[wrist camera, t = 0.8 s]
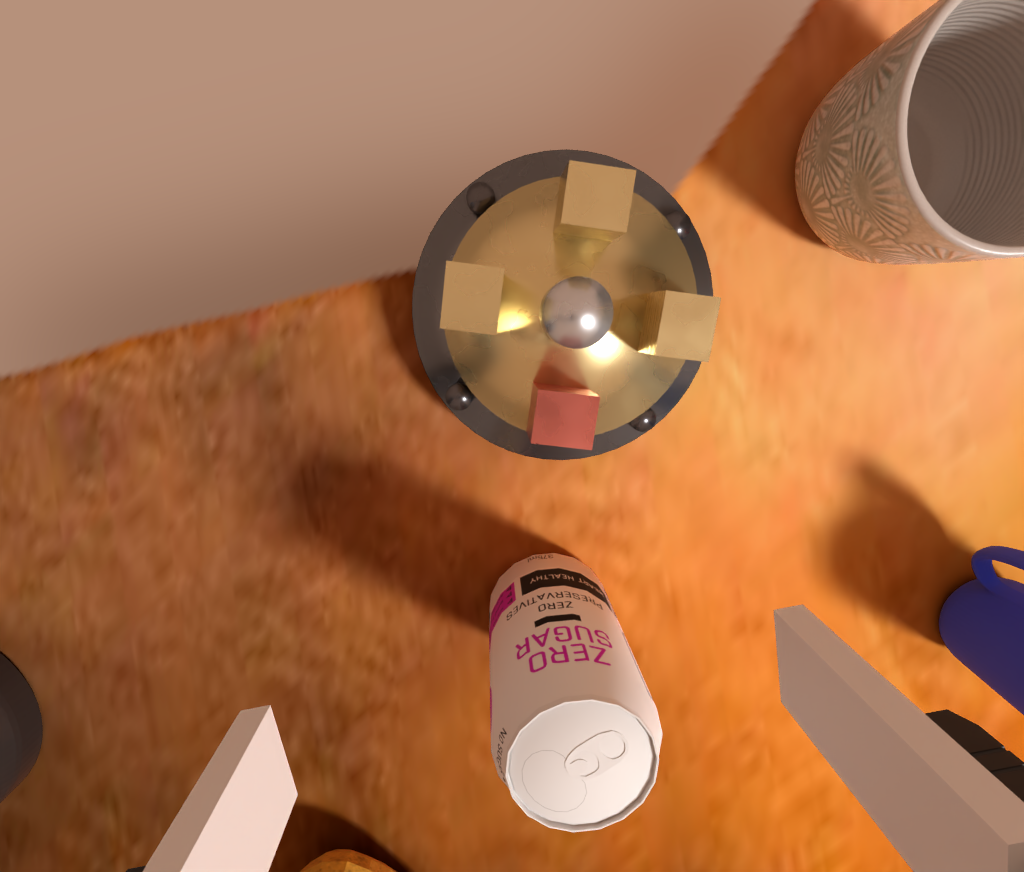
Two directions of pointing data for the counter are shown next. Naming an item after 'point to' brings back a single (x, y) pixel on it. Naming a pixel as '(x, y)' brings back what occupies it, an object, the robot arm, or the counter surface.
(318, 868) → the potato
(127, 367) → the counter surface
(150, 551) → the counter surface
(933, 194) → the planter
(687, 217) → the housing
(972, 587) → the mug
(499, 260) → the brass disc with cubes
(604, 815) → the supplement can
